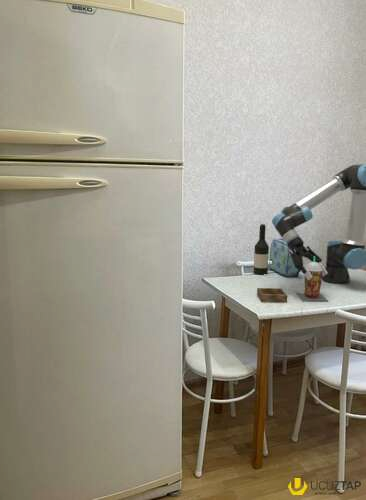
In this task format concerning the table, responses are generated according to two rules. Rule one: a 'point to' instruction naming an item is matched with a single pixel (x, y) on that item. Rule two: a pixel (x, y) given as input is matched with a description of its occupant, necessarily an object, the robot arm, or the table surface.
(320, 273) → the smoothie
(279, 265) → the lunch box
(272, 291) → the tray
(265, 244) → the wine bottle
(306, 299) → the coaster
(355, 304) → the table surface
